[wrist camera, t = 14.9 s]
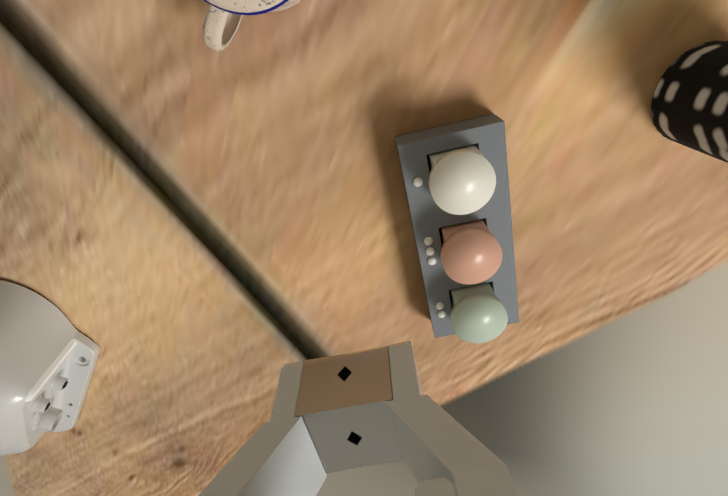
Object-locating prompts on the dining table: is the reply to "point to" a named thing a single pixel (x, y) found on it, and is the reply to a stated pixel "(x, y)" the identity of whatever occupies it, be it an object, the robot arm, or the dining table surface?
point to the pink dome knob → (469, 252)
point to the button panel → (430, 216)
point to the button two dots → (477, 313)
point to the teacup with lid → (234, 18)
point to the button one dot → (461, 179)
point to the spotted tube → (695, 100)
